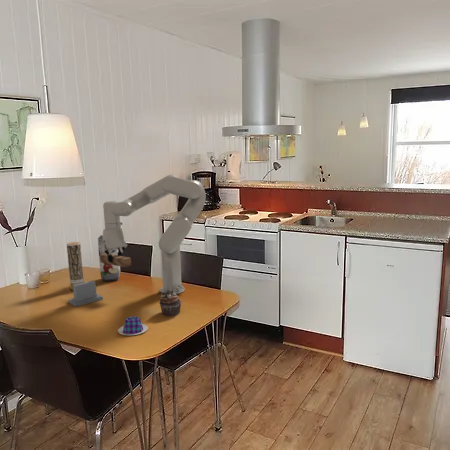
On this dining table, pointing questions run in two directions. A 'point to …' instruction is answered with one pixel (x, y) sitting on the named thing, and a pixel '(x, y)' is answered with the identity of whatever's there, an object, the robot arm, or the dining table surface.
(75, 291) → the ridge
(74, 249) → the paper tube
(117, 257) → the rod
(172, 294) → the cupcake
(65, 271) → the dining table surface
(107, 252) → the robot arm
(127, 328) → the pudding
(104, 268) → the juice carton
